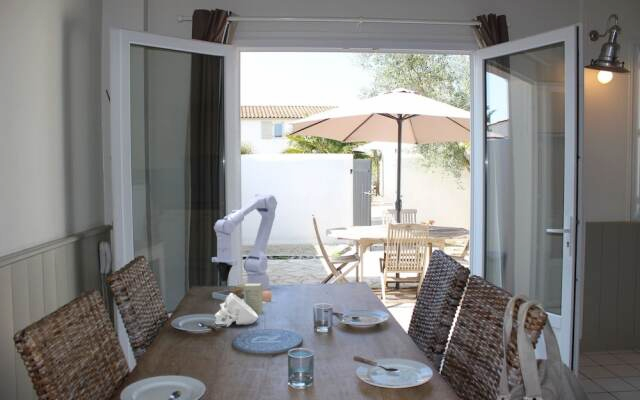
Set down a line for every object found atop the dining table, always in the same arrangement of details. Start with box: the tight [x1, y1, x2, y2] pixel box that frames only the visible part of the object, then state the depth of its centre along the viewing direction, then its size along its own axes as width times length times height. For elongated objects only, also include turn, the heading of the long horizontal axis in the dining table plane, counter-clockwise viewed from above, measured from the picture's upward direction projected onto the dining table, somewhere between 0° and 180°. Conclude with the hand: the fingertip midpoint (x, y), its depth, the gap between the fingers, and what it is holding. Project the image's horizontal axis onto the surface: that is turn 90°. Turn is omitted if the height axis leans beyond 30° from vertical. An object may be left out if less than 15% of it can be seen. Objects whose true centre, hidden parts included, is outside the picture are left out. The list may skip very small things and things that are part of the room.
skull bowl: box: [214, 293, 259, 328], centre depth 215 cm, size 10×14×12 cm
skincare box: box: [243, 283, 264, 315], centre depth 226 cm, size 6×4×12 cm
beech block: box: [234, 284, 245, 293], centre depth 257 cm, size 4×4×4 cm
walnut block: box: [227, 287, 242, 300], centre depth 248 cm, size 4×4×4 cm
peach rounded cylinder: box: [262, 289, 272, 303], centre depth 245 cm, size 4×4×4 cm
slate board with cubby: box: [211, 289, 278, 305], centre depth 249 cm, size 15×24×4 cm, turn 47°
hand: (224, 280), depth 252 cm, fingers closed
